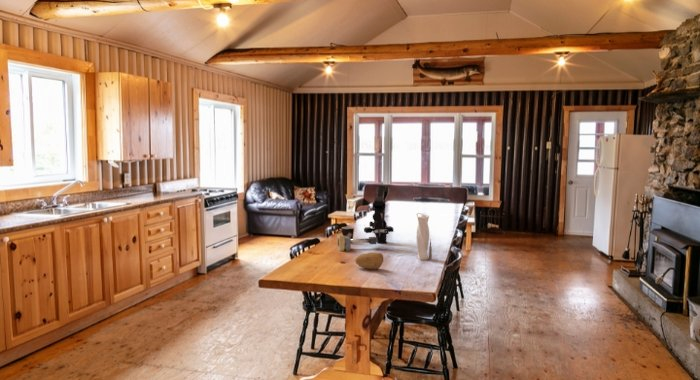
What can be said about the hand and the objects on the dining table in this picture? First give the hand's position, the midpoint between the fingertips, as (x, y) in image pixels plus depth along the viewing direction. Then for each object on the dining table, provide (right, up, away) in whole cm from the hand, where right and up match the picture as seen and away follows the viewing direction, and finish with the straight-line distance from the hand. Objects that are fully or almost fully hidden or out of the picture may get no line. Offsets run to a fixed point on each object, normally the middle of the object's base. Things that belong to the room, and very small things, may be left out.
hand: (378, 242), depth 307 cm
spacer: (-25, -4, -5) cm, 26 cm away
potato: (-8, -9, -52) cm, 53 cm away
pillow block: (-21, -4, -5) cm, 22 cm away
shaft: (-13, -1, -3) cm, 13 cm away
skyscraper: (+25, -7, -30) cm, 39 cm away
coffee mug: (-22, -2, +19) cm, 29 cm away
